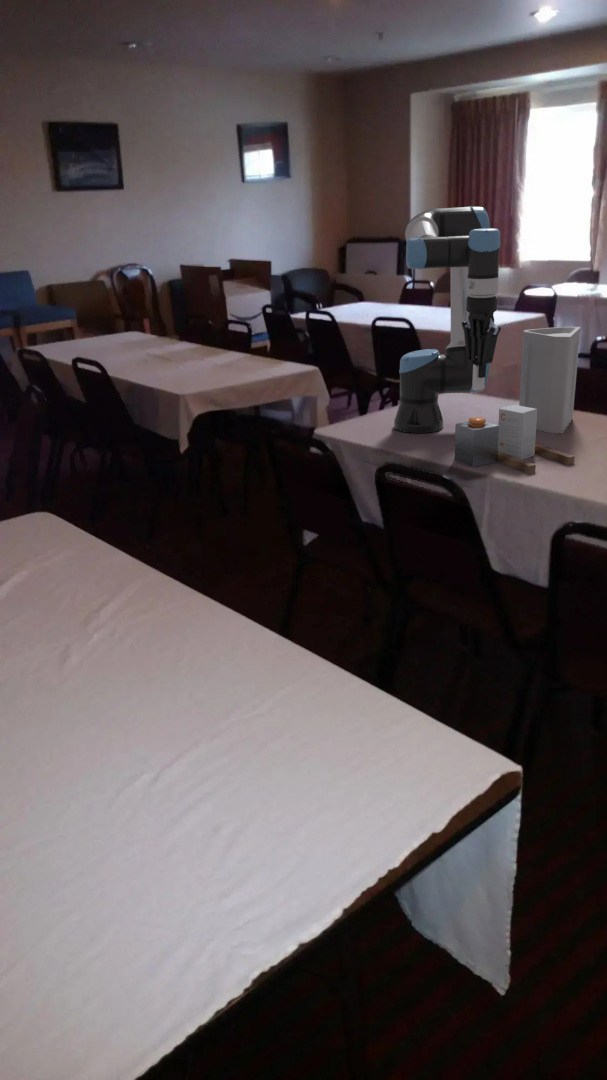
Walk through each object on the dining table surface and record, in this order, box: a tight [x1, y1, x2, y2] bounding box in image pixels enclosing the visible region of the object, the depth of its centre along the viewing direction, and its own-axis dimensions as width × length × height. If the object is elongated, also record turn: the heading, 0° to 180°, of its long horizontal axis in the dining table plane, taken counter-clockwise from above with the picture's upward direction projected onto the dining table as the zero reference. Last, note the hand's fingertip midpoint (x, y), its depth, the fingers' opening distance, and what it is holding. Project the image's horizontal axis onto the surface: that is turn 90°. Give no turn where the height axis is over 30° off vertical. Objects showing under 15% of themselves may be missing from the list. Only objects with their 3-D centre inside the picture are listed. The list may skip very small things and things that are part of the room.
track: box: [497, 442, 575, 474], centre depth 215 cm, size 20×15×2 cm
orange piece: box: [468, 416, 487, 427], centre depth 212 cm, size 4×4×7 cm
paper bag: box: [518, 326, 581, 434], centre depth 242 cm, size 19×15×28 cm
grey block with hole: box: [454, 421, 499, 468], centre depth 214 cm, size 8×8×10 cm
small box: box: [497, 404, 537, 460], centre depth 216 cm, size 8×6×13 cm
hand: (478, 389), depth 209 cm, fingers closed
